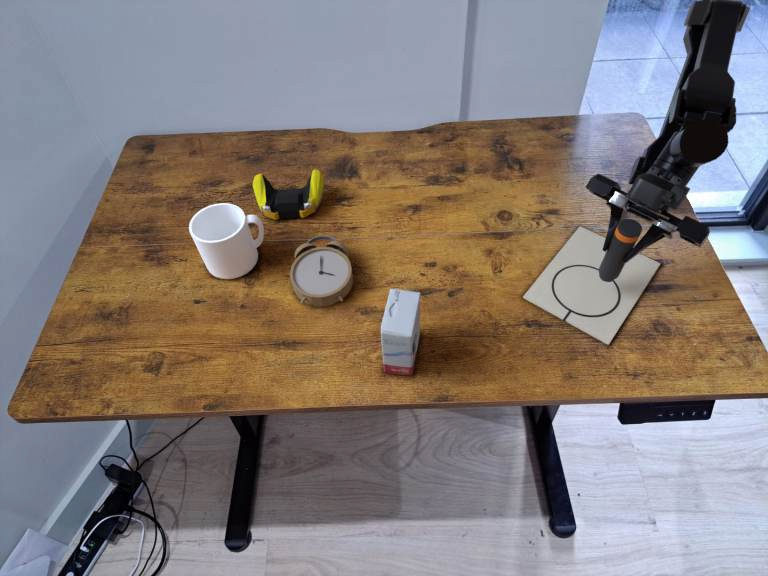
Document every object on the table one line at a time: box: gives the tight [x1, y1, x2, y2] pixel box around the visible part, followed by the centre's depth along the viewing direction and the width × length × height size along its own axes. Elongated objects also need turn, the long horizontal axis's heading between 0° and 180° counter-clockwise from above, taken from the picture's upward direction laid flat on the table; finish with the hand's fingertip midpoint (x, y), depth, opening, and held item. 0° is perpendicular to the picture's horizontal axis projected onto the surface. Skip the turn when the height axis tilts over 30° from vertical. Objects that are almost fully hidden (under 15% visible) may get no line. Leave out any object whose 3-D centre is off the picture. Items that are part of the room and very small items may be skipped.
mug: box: [188, 202, 265, 280], centre depth 95 cm, size 13×10×10 cm
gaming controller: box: [252, 168, 326, 221], centre depth 106 cm, size 15×6×10 cm
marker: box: [599, 218, 643, 282], centre depth 83 cm, size 4×4×12 cm
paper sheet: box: [522, 226, 661, 346], centre depth 92 cm, size 22×16×1 cm
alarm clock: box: [289, 234, 354, 307], centre depth 94 cm, size 11×5×15 cm
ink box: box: [380, 288, 421, 377], centre depth 80 cm, size 9×5×12 cm, turn 168°
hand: (613, 256), depth 82 cm, fingers closed on marker, 3 cm apart
